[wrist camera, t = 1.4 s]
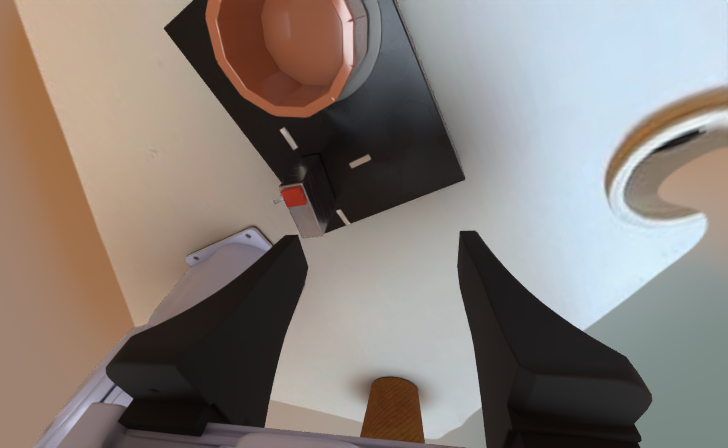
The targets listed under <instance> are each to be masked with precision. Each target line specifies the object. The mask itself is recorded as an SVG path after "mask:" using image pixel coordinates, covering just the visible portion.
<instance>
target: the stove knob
mask: <svg viewBox="0 0 728 448" xmlns="http://www.w3.org/2000/svg"><path fill="white" fill-rule="evenodd" d="M279 189H280V191H281V195H282V197H283V199H284V201H285V203H286V205H287V207H288V209H289V211H290V213H291V215H292V217H293V219H294V221H295V224H296V226H297V228H298V230H299V232H300V234H301V236H302V238H309V237H317V236H323V235H324V232H325V230H326V227H327V224H328V222H329V219H330V216H331V214H332V211H333V208H334V206H335V203H336V200H335V198H334V195H333V192H332V189H331V186H330V183H329V181H328V178H327V175H326V172H325V169H324V166H323V164H322V161H321V158H320V155H319V154H317V155H312V156H307V157H301V158H299V159H298V161H297V162H296V164H295V165H294V166H293V168H292V169H291V171H290V172H289V173H288V175H287V176H286V178H285V179H284V180H283V182H282V183H281V185H280V186H279Z"/></svg>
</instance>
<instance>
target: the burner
mask: <svg viewBox="0 0 728 448" xmlns="http://www.w3.org/2000/svg"><path fill="white" fill-rule="evenodd" d="M361 2H362V4H363V7H364V9H365V11H366V13H367V15H366V16H367V51H366V55H365V57H364V59H363V61H362V62H361V64H360V66H359V68H358V70H357V72H356V74H355V76H354V78H353V80H352V81H351V82H350V84H349V85H348V86H347V87H346V89H345V90H344V91H343V93H342V94H341V95H340V97H339V98H338V99H337V100H336V101H335V102H337V101H340V100H343V99H345V98H347V97H349V96H350V95H352V94H353V93H355V92H356V91H357V90H358V89H359V88H360V87H361V86H362V85H363V84H364V83H365V81H366V80H367V79H368V77H369V76H370V74H371V72H372V70H373V68H374V66H375V64H376V61H377V59H378V56H379V52H380V47H381V40H382V18H381V10H380V6H379V2H378V0H361Z"/></svg>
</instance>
